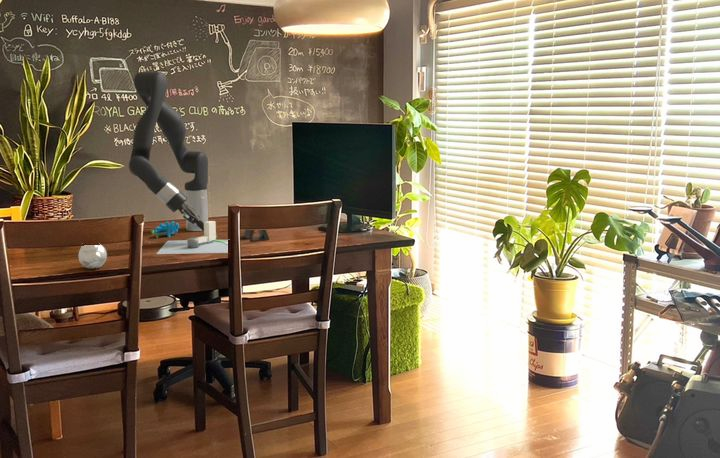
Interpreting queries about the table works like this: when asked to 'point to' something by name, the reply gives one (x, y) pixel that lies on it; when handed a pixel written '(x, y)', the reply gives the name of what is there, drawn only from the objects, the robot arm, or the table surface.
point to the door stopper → (263, 236)
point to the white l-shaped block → (208, 235)
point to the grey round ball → (92, 256)
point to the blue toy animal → (166, 229)
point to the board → (204, 247)
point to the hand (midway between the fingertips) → (205, 228)
